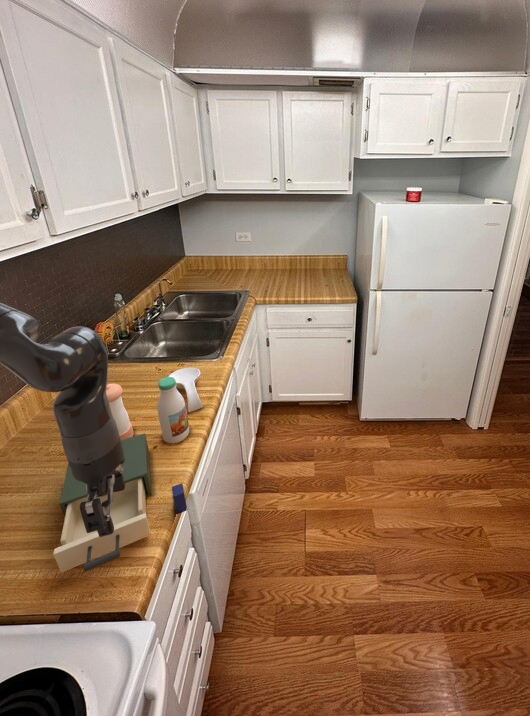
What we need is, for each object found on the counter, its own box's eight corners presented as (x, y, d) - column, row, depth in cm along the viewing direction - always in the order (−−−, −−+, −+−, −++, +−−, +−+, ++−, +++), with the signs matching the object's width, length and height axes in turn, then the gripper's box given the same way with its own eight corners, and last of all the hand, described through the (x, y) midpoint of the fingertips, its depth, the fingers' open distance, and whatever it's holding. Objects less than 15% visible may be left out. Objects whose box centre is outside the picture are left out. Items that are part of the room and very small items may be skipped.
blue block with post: (176, 514, 79) (172, 497, 77) (173, 492, 85) (170, 475, 83) (187, 510, 80) (183, 492, 78) (183, 488, 86) (180, 471, 84)
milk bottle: (163, 447, 98) (151, 392, 91) (163, 429, 105) (152, 376, 97) (190, 439, 101) (181, 385, 94) (188, 422, 108) (180, 370, 100)
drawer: (151, 555, 70) (146, 537, 68) (56, 598, 63) (48, 579, 61) (148, 486, 85) (144, 469, 83) (71, 514, 78) (65, 497, 76)
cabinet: (151, 495, 84) (146, 473, 81) (68, 527, 76) (59, 504, 74) (149, 453, 96) (145, 433, 93) (77, 477, 88) (69, 455, 86)
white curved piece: (166, 380, 128) (163, 364, 126) (197, 371, 134) (195, 356, 132) (178, 417, 110) (175, 399, 107) (214, 405, 116) (211, 388, 113)
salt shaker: (120, 426, 106) (107, 376, 99) (139, 431, 104) (127, 380, 97) (100, 443, 99) (85, 390, 92) (119, 449, 97) (105, 396, 90)
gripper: (81, 418, 60) (101, 482, 66) (47, 485, 48) (76, 557, 53) (127, 410, 62) (142, 473, 68) (106, 473, 50) (127, 544, 56)
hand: (113, 510), depth 61 cm, fingers open, 8 cm apart
